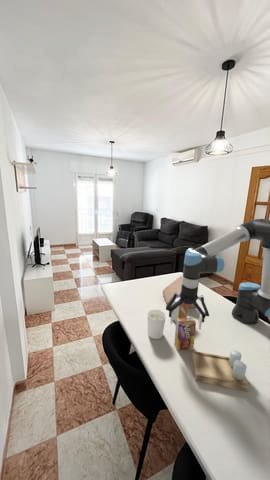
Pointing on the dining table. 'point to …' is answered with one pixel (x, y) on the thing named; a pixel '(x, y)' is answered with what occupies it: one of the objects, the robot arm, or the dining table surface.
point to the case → (174, 290)
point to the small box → (180, 310)
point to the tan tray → (216, 371)
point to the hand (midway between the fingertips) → (185, 325)
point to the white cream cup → (156, 323)
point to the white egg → (234, 357)
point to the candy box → (185, 333)
